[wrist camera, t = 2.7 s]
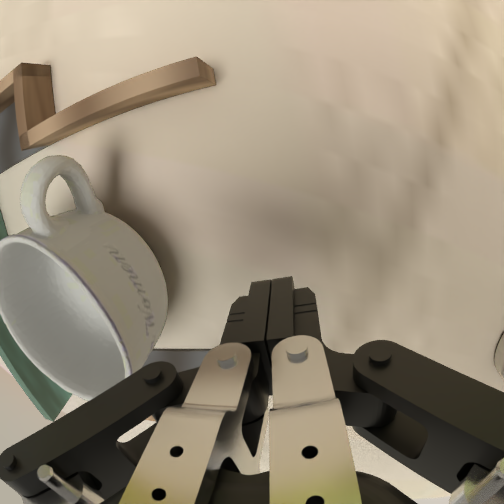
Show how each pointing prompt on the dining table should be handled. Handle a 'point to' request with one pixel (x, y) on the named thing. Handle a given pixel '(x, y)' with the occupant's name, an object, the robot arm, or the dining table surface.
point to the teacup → (79, 286)
